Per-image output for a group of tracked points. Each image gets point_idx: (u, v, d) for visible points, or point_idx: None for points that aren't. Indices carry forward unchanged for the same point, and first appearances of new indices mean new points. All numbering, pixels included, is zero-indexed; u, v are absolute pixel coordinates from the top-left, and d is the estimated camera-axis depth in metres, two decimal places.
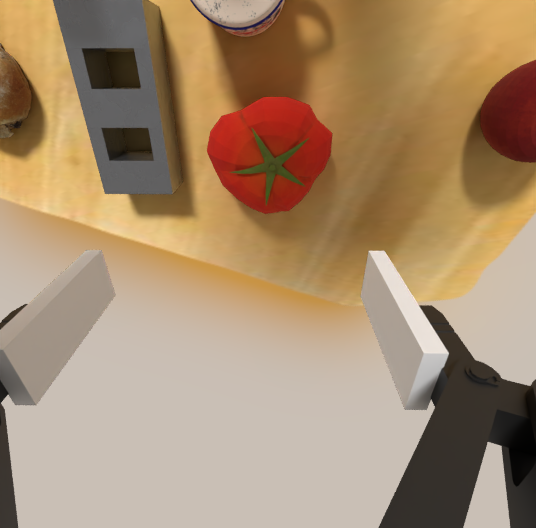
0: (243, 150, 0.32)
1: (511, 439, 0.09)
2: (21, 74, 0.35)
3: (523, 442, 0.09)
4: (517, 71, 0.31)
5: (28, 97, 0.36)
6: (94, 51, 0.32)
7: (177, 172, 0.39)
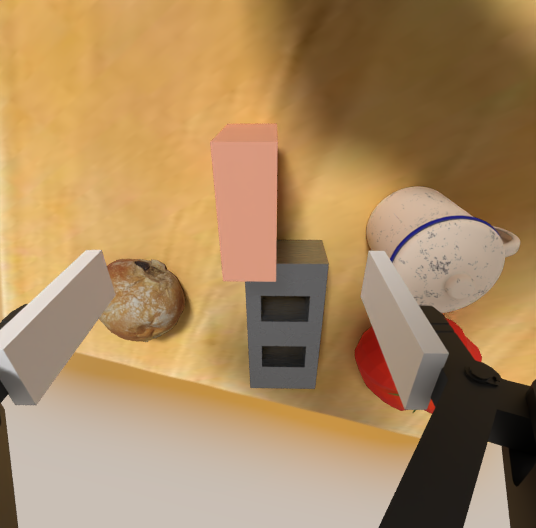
0: None
1: (511, 439, 0.09)
2: (180, 288, 0.37)
3: (523, 442, 0.09)
4: None
5: None
6: None
7: None
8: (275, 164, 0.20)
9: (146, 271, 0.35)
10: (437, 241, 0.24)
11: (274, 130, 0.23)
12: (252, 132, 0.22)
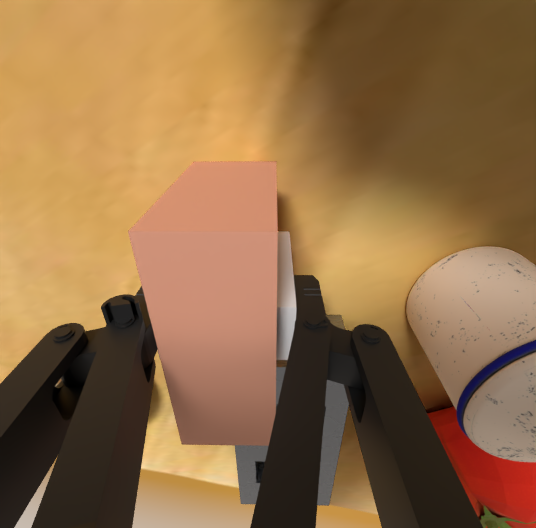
0: None
1: (339, 375, 0.11)
2: None
3: (347, 377, 0.11)
4: None
5: None
6: None
7: None
8: (273, 272, 0.09)
9: None
10: None
11: (271, 183, 0.12)
12: (229, 190, 0.11)
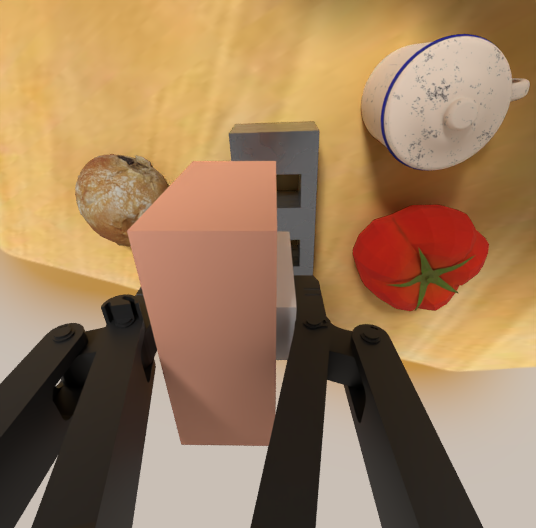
0: (406, 267, 0.31)
1: (339, 375, 0.11)
2: None
3: (348, 377, 0.11)
4: None
5: None
6: None
7: None
8: (273, 272, 0.09)
9: (130, 165, 0.33)
10: (435, 63, 0.21)
11: (271, 182, 0.12)
12: (229, 189, 0.11)
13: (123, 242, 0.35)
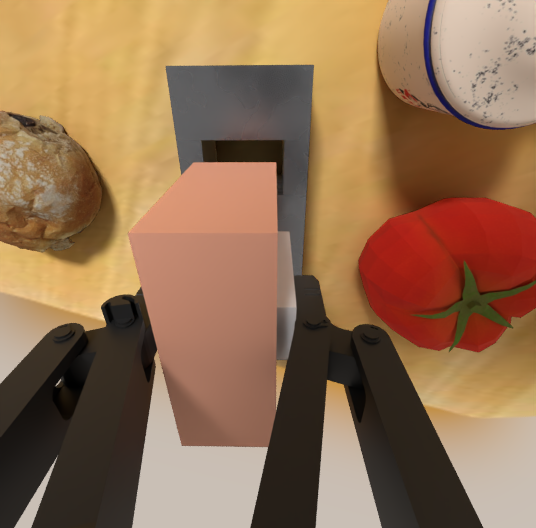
0: (442, 290, 0.20)
1: (339, 375, 0.11)
2: (90, 167, 0.24)
3: (348, 377, 0.11)
4: None
5: (98, 197, 0.25)
6: None
7: None
8: (273, 274, 0.09)
9: (27, 127, 0.22)
10: None
11: (271, 184, 0.12)
12: (229, 191, 0.11)
13: (19, 244, 0.24)
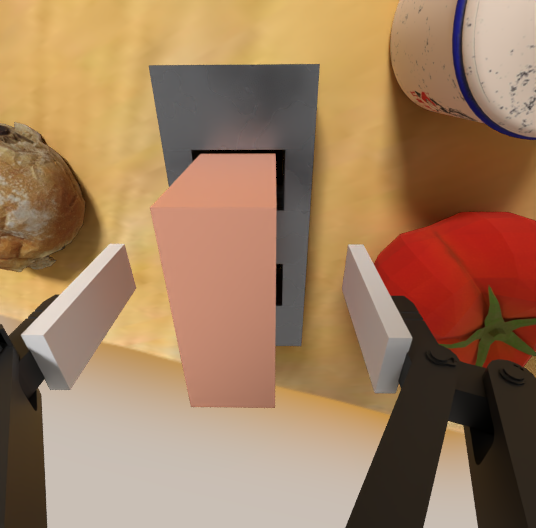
0: (463, 317, 0.18)
1: (468, 417, 0.10)
2: (71, 179, 0.22)
3: (480, 420, 0.09)
4: None
5: (81, 212, 0.23)
6: None
7: None
8: (273, 243, 0.11)
9: None
10: None
11: (271, 171, 0.14)
12: (234, 176, 0.13)
13: None
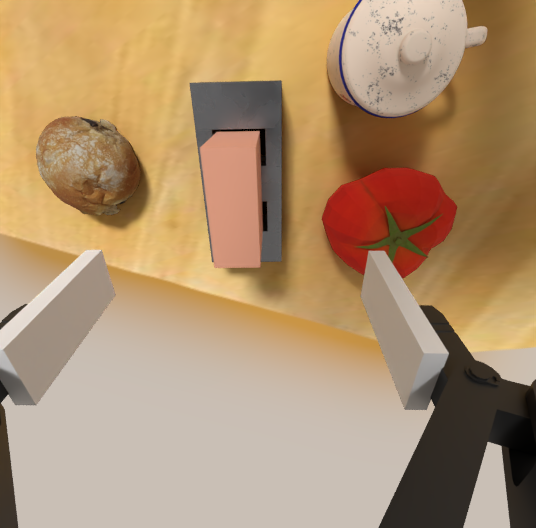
0: (373, 227, 0.31)
1: (511, 439, 0.09)
2: (133, 154, 0.35)
3: (523, 442, 0.09)
4: None
5: (138, 176, 0.36)
6: None
7: None
8: (254, 165, 0.23)
9: (93, 127, 0.33)
10: None
11: (255, 137, 0.26)
12: (236, 139, 0.26)
13: (86, 207, 0.34)
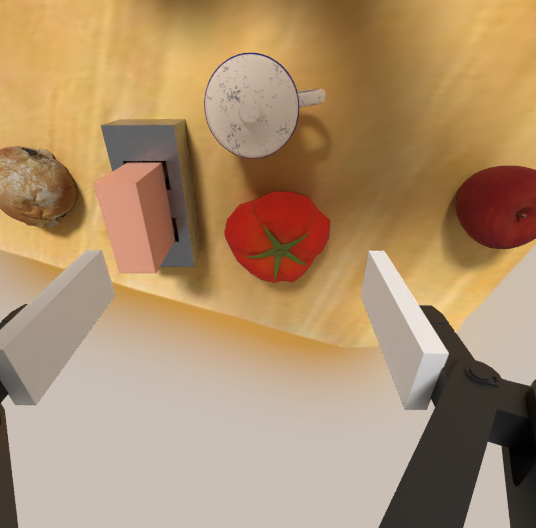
0: (256, 241, 0.38)
1: (511, 439, 0.09)
2: (68, 177, 0.42)
3: (523, 442, 0.09)
4: (483, 177, 0.37)
5: (74, 194, 0.43)
6: None
7: (197, 245, 0.45)
8: (137, 196, 0.30)
9: (32, 155, 0.40)
10: (230, 74, 0.28)
11: (149, 170, 0.33)
12: (132, 173, 0.33)
13: (27, 221, 0.41)
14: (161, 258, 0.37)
